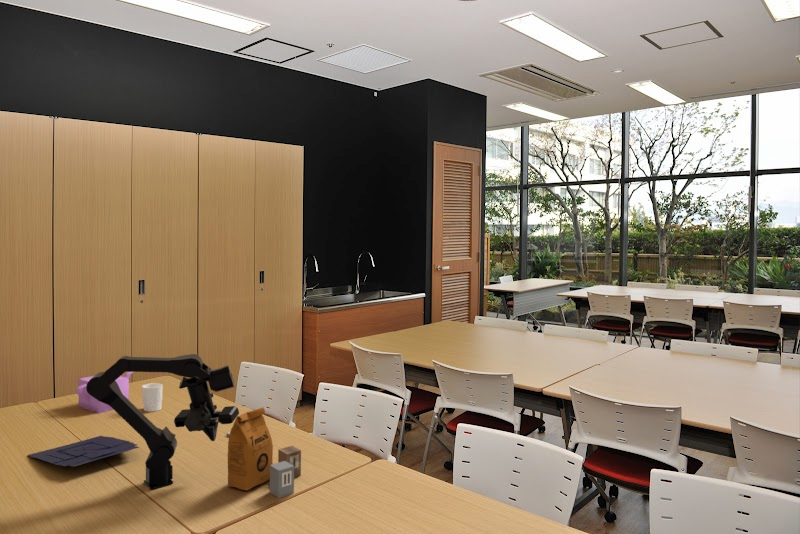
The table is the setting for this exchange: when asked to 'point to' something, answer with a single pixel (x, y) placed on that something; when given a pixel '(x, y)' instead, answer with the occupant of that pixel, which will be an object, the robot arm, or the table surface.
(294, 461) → the walnut numbered block
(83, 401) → the teapot
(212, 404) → the robot arm
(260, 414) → the coffee package
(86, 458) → the dark blue flat slab
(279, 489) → the grey numbered block
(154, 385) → the white cup
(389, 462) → the table surface
